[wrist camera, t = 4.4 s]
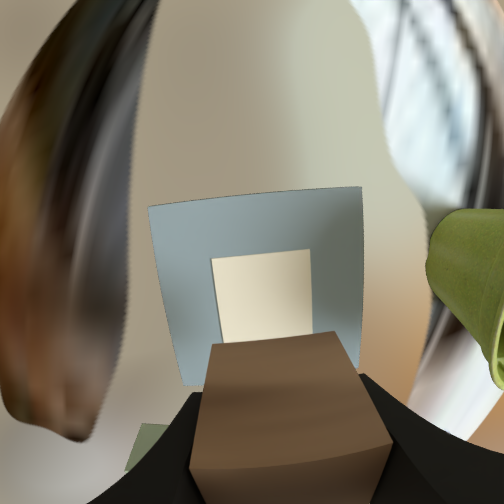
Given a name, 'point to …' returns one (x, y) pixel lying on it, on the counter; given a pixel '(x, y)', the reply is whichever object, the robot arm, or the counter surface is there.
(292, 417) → the walnut block
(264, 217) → the board
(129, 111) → the counter surface
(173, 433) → the robot arm
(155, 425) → the sage block
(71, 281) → the counter surface
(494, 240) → the plant pot
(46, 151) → the counter surface
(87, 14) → the counter surface
